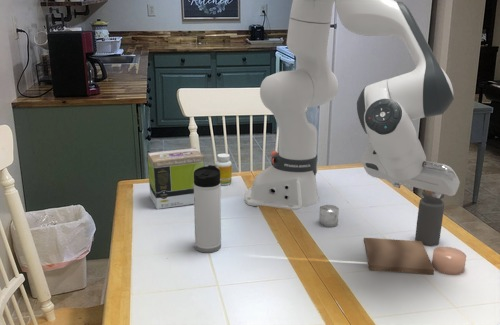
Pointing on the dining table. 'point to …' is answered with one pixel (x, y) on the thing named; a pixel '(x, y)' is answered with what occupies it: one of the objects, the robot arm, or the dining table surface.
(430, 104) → the robot arm
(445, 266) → the peach dome knob
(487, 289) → the dining table surface
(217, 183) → the travel mug
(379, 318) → the dining table surface
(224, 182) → the supplement bottle
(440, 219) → the bottle
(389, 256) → the board
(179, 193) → the tea box
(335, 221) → the tin
